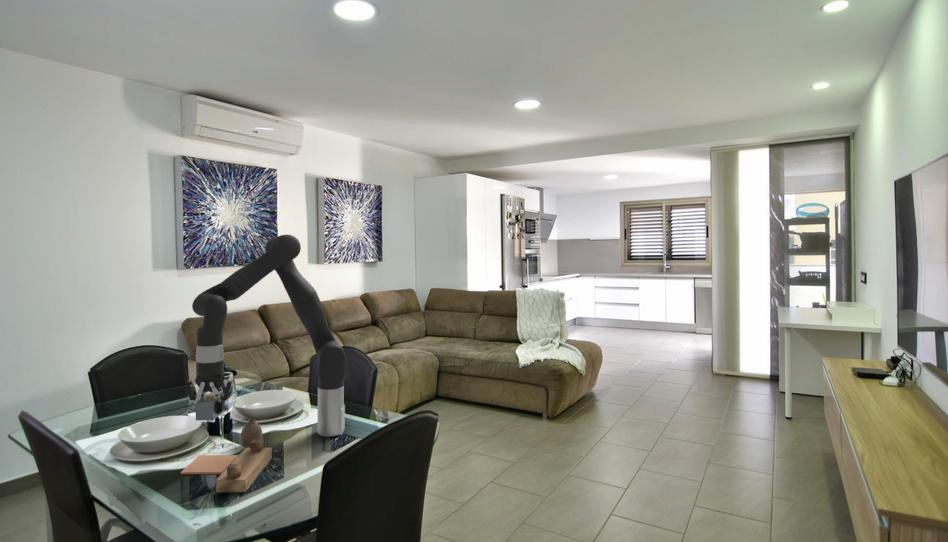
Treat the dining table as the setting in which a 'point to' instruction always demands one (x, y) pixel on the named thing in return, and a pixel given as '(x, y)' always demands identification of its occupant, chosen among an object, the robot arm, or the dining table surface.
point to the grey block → (207, 408)
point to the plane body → (244, 468)
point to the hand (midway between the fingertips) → (210, 412)
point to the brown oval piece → (250, 433)
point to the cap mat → (209, 464)
